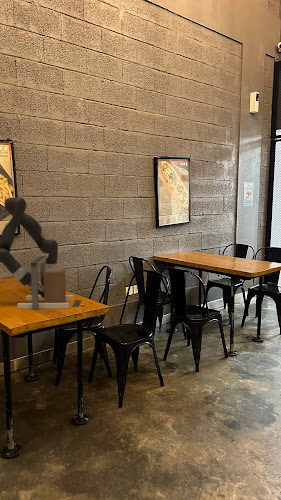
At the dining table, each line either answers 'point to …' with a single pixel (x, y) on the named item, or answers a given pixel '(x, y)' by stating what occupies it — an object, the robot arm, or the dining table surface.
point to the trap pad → (76, 303)
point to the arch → (34, 279)
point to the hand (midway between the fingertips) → (45, 296)
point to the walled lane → (46, 305)
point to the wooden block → (54, 286)
